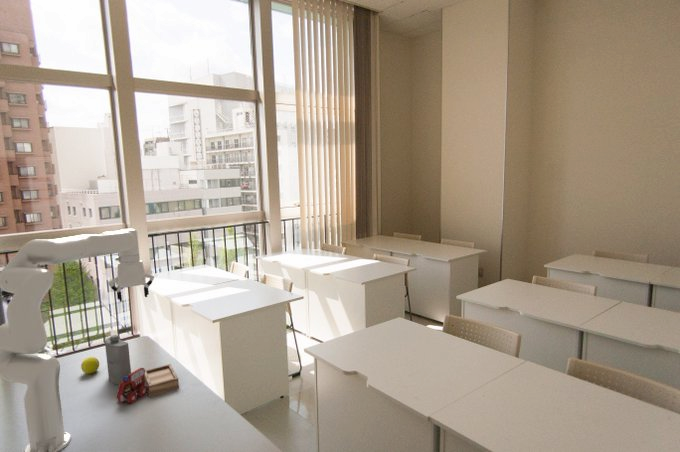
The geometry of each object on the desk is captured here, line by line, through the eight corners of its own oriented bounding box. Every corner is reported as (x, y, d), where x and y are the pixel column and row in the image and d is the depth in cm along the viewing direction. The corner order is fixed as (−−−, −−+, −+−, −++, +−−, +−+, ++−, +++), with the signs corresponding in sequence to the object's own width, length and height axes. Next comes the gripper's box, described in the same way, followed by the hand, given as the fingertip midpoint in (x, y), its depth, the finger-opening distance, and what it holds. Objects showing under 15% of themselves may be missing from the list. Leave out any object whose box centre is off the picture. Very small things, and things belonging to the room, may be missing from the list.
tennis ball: (80, 372, 190) (78, 358, 189) (97, 367, 195) (96, 353, 194) (84, 377, 185) (82, 362, 184) (101, 372, 190) (100, 357, 189)
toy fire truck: (112, 404, 163) (109, 379, 161) (139, 389, 174) (136, 365, 173) (125, 407, 160) (122, 382, 159) (151, 392, 171) (149, 367, 170)
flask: (105, 378, 184) (100, 334, 182) (118, 372, 189) (114, 330, 186) (119, 388, 175) (115, 342, 172) (134, 382, 179) (129, 337, 177)
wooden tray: (179, 388, 173) (178, 378, 173) (150, 396, 167) (149, 386, 167) (171, 373, 187) (170, 363, 186) (144, 380, 181) (143, 370, 180)
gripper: (106, 263, 167) (110, 304, 169) (153, 257, 176) (157, 297, 178) (105, 260, 173) (109, 300, 175) (150, 254, 182) (154, 293, 184)
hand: (133, 298), depth 176 cm, fingers open, 9 cm apart
